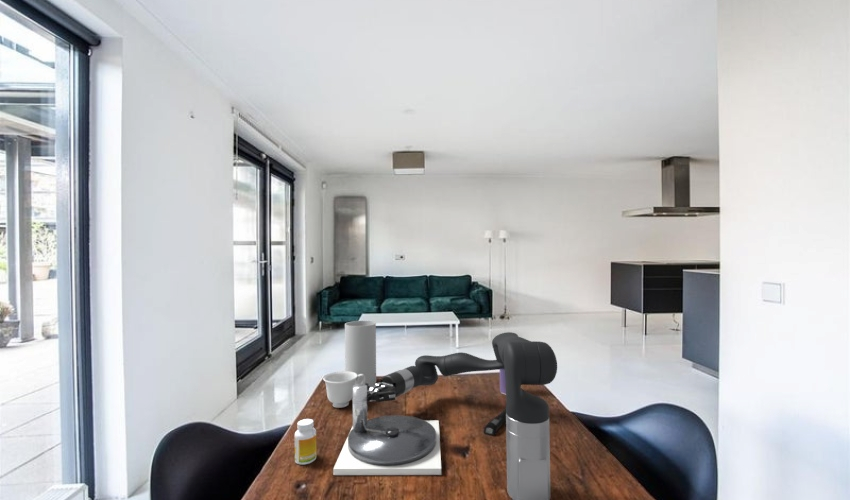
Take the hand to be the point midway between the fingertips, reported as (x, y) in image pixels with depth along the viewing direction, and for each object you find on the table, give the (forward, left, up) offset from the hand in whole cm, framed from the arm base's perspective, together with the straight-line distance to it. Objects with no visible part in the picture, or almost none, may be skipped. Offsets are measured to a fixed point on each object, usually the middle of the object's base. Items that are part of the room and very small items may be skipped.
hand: (358, 400), depth 108 cm
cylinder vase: (+45, +8, -11) cm, 46 cm away
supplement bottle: (-11, +12, -11) cm, 20 cm away
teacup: (+25, +10, -11) cm, 29 cm away
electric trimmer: (+8, -42, -11) cm, 44 cm away
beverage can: (+35, -50, -11) cm, 62 cm away
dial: (-5, -10, -9) cm, 15 cm away
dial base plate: (-5, -10, -11) cm, 16 cm away
